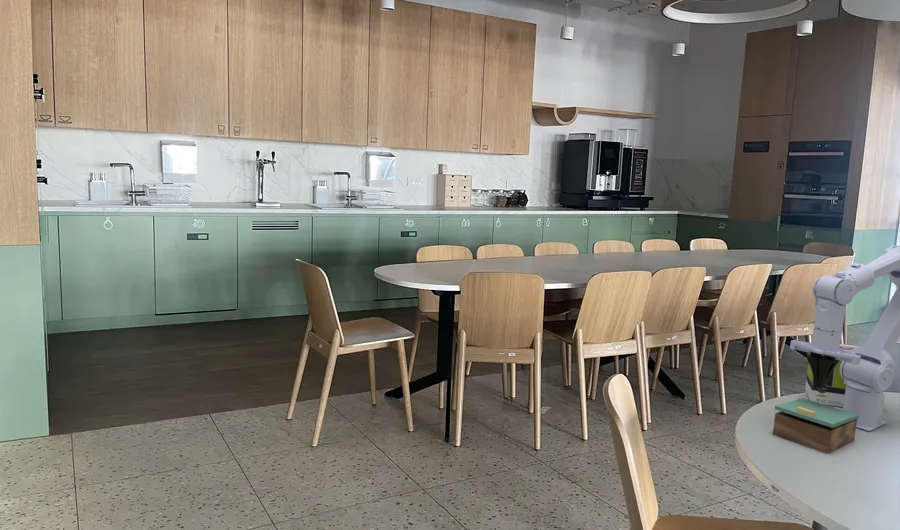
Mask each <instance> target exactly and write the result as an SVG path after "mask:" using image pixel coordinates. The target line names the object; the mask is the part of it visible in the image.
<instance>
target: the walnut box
mask: <svg viewBox="0 0 900 530" xmlns="http://www.w3.org/2000/svg"><path fill="white" fill-rule="evenodd" d="M856 425H857V419H855V420H852V421H850V422H847V423H844V424H841V425H839V426H836V427H833V428H831V427H828V426H825V425H822V424H819V423H816V422H813V421H810V420H806V419H803V418H800V417H797V416H794V415H791V414H788V413H785V412H782V411H778V412H775V413H774V423H773V428H772V429H773V430H772V435H773V436H777V437H779V438H782V439H784V440H788V441H790V442H794V443H796V444H799V445H802V446H805V447H807V448H810V449H813V450H816V451H818V452H821V453H825V454H826V455H827V454H831V453H833V452H834V451H836V450H838V449H840V448H843V447H845V446H846V445H848V444H850V443H852V442H854V441H855V437H856V431H857V427H856Z"/></svg>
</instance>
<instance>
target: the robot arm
mask: <svg viewBox="0 0 900 530" xmlns="http://www.w3.org/2000/svg"><path fill="white" fill-rule="evenodd" d="M885 275H888V277H889V279H890V282H891V283H893V284H894V285H895V286H896V290H895V291H894V293H893V295H892V296H891V299H890V300H889V302H888V303H887V306H886V307H885V310H884V311H883V313H882V314H881V317H880V318H879V320H878V321H877V324H876V325H875V327H874V329H873V331H872V333H871V335H870V336H869V338H868V340H867V342H866V344H863V345H859V346H860V347H857V348H854V349H852V351H851V353H850V352H847V351H844V350H841V349H839V348H840V344H841V342H842V341H841V340H842V334H843V333H842V332H843V328H844V320H845V313H846V307H847V305H848V304H850V303H851V302H852V301H853V299H854V297H855V296H857V294H858V293H860V292H862V291H863V290H866V289H868V288H870V287H872V286H873V285H874V284H875V279H877V278H880V277H883V276H885ZM811 291H812V295H813V298H814V302H813V304H814V306H815V307H816V308H815V315H814V321H813V328H812V335H811V341H810V342H807V341H801V340H797V339H793V340H790V345H789V349H790V350H796V351H801V352H805V353H807V354H808V353H810V355H808V356H807V357H806V358H807V363H808V362H809V364H810V367H811V370H812V373H813V379H814V387H817V388H823V387H824V386H825V383H826V380H827V378H828V376H829V375H830V373H831V371H832V370H833V369H834V367H835V366H836V365H837V364H838V362H839V360H840V361H842V363H841V365H840V375H841V377H842V378H843V379H844V383H845V384H846V391H845V398H844V405H843V407H842V410H845V411H848V412H851V413H855V414H858V415H859V418H858V419H857V425H856V429H857V428H858V429H861V430H863V431H866V432H867V431H868V432H871V431H873V430H875V429H877V428H879V427H882V426H884V425H885V424H886V423H887V422H886V421H884V420H882V419H883V412H884V406H885V400H886V399H885V398H886V395H885V391H887V390H888V388H890V386H891V385H892V383H893V381H894V375H895V372H896V369H897V364H896V363H895V361H894V360H893V358H892V356H891V353H892V351H893V350H894V348H895V347H896V345H897V343H898V340H900V339H899V338H900V245H895V244H894V245H892V246H889V247H887V248H885V249H884V252H883V254H881V256H879V257H877V258H875V259H874V260H872V261H871V262H869V263H866V264H863V263H859V262H858V263H857V262H856V263H855V262H854V263H852V264H850V267H847V268H846V269H844V270H841V271H837V272H836V273H835V274H833V275H832V276H831V275H822V277H819V278H817V280H816V281H815V283H814V286H812V290H811Z"/></svg>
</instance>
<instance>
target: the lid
mask: <svg viewBox="0 0 900 530" xmlns="http://www.w3.org/2000/svg"><path fill="white" fill-rule="evenodd" d="M774 410H775V411H778V412H780V411H782V412H785V413H788V414H791V415H794V416H797V417H800V418H803V419H806V420H810V421H813V422H816V423H819V424H822V425H825V426H828V427H831V428H833V427H836V426H839V425H841V424H844V423H847V422H850V421H852V420H855V419H858V418H859V415H858V414H855V413H851V412H848V411H845V410H843V409H841V408H838V407H836V406H832V405H825V404H821V403H818V402H815V401H811V400H809V398H807V399H806V398H804V397H801V398H797V399H795V400H791V401H787V402H784V403H780V404H777V405H776V404H775V406H774Z"/></svg>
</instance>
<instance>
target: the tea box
mask: <svg viewBox="0 0 900 530" xmlns="http://www.w3.org/2000/svg"><path fill="white" fill-rule="evenodd" d="M860 346H861V345H855V344H854V345H853V344H844V343H840V348H839V349H841V350H844V351H847V352H850V353H851V351H852V349H854V348H857V347H860ZM809 355H810V353H809ZM809 355H808V356H809ZM807 363H808V364H807V371H806V377H805V378H806V379H805V393H806V396H807V399H808V400H811V401H815V402H818V403H821V404H825V405H828V406H831V407H841V408H843V405H844V398H845V391H846V384H845V383H844V379H843V378H842V377H841V375H840V365H841V363H842V361H840V360H839V362H838V364H837V365H836V366H835V367H834V369H833V370H832V371H831V373H830V375H829V376H828V378H827V380H826V383H825V386H824V387H823V388H817V387H814V379H813V373H812V370H811V367H810V364H809V362H808V361H807Z"/></svg>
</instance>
